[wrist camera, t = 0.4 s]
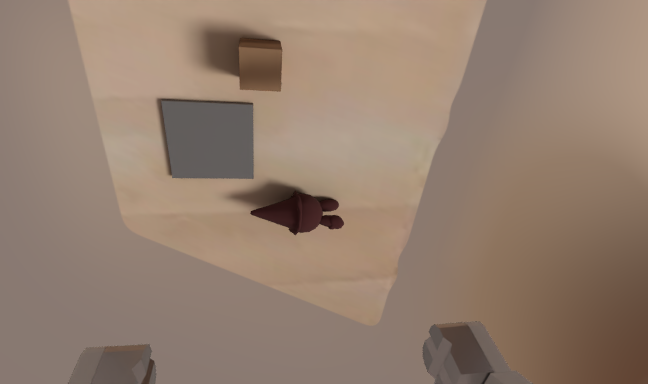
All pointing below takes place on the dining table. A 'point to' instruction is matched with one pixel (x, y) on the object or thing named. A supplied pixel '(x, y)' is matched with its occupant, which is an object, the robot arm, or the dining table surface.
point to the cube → (260, 64)
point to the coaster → (209, 138)
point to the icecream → (301, 213)
